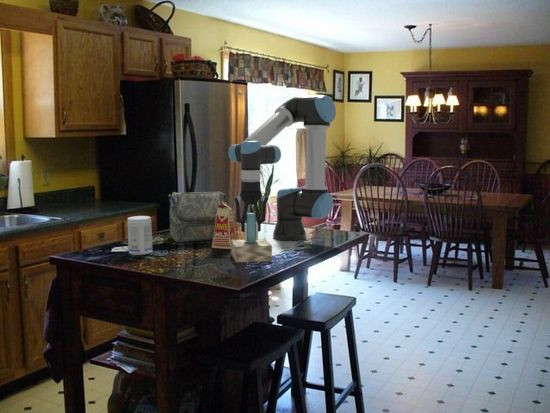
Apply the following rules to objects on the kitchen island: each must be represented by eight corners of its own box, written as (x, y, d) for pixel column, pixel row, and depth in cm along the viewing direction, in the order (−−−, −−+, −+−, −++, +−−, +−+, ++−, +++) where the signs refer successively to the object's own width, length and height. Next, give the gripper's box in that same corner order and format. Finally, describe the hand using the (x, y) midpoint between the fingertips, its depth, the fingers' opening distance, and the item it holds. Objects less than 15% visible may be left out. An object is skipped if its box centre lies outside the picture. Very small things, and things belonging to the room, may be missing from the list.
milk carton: (232, 248, 262) (231, 202, 259) (211, 248, 264) (210, 201, 261) (237, 244, 271) (237, 199, 268) (217, 243, 273) (216, 198, 270)
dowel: (255, 250, 247) (254, 212, 245) (256, 252, 243) (256, 214, 241) (245, 250, 246) (245, 213, 244) (247, 252, 242) (246, 214, 240)
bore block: (265, 253, 253) (265, 238, 252) (271, 260, 240) (271, 245, 239) (231, 254, 250) (231, 240, 250) (235, 262, 237) (235, 246, 236)
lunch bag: (172, 243, 273) (171, 194, 270) (166, 236, 290) (164, 190, 287) (229, 240, 281) (229, 192, 278) (220, 233, 298) (219, 188, 295)
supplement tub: (149, 249, 260) (148, 215, 258) (155, 254, 252) (154, 218, 250) (126, 251, 256) (124, 216, 254) (131, 256, 248) (130, 220, 246)
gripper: (270, 179, 246) (270, 237, 249) (228, 180, 243) (228, 239, 246) (273, 181, 239) (273, 240, 242) (230, 182, 236) (231, 242, 239)
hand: (251, 239), depth 244 cm, fingers closed on dowel, 4 cm apart
